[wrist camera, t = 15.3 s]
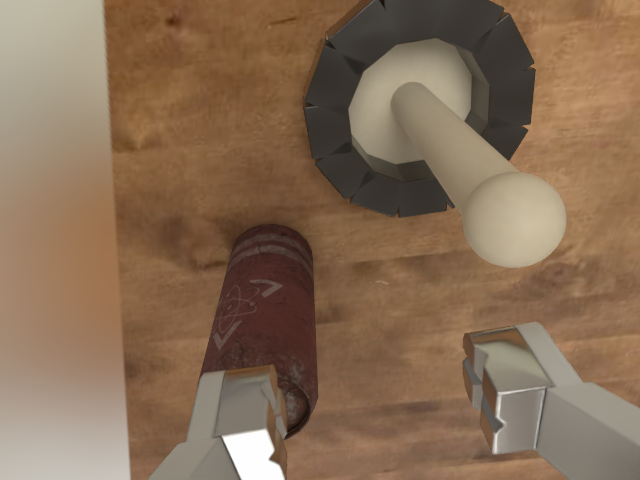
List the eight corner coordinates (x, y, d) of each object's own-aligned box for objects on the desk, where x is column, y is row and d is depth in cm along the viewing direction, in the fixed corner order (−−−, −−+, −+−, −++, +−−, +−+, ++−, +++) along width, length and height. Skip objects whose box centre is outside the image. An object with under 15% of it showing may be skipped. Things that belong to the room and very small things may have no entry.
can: (226, 282, 35) (186, 446, 23) (239, 213, 31) (200, 359, 19) (301, 296, 36) (300, 459, 24) (321, 230, 32) (332, 379, 20)
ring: (322, 208, 30) (324, 229, 28) (288, 6, 24) (286, 10, 21) (504, 180, 30) (523, 199, 27) (519, -35, 23) (546, -37, 21)
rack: (344, 174, 30) (388, 374, 15) (324, 31, 26) (360, 115, 10) (476, 153, 30) (657, 337, 15) (480, 4, 25) (752, 49, 10)
